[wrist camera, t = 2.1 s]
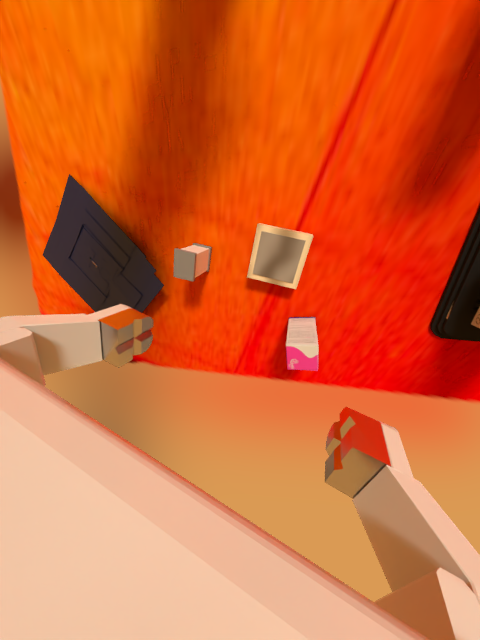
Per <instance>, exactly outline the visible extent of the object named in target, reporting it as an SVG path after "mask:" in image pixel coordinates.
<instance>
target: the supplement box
mask: <svg viewBox="0 0 480 640" xmlns="http://www.w3.org/2000/svg"><path fill="white" fill-rule="evenodd" d="M286 358H287V369H291V370H312V371H318V338H317V330H316V321H315V317H290V318H289V321H288V330H287V339H286Z"/></svg>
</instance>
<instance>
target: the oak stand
mask: <svg viewBox="0 0 480 640" xmlns="http://www.w3.org/2000/svg"><path fill="white" fill-rule="evenodd" d="M312 238H313V235H312V234H308V233H304V232H299V231H294V230H289V229H285V228H280V227H275V226H271V225H266V224H261V223H259V224H257V229H256V234H255V239H254V245H253V250H252V255H251V260H250V265H249V270H248V275H247V277H248V278H252V279H256V280H260V281H264V282H268V283H272V284H276V285H280V286H284V287H288V288H292V289H296V288H297V285H298V282H299V279H300V276H301V272H302V269H303V266H304V263H305V260H306V257H307V254H308V251H309V248H310V245H311V241H312Z"/></svg>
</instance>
